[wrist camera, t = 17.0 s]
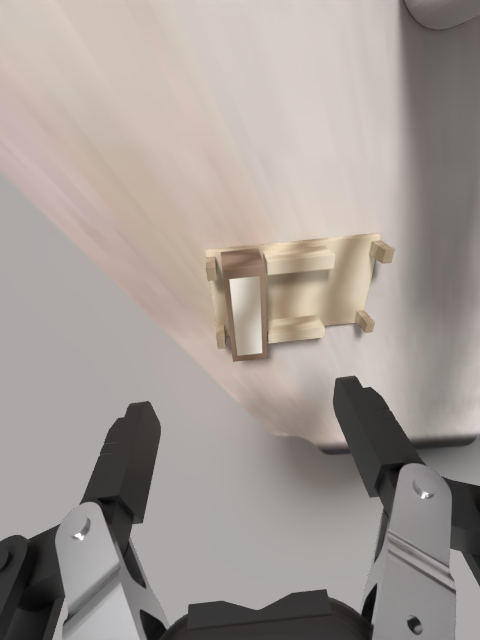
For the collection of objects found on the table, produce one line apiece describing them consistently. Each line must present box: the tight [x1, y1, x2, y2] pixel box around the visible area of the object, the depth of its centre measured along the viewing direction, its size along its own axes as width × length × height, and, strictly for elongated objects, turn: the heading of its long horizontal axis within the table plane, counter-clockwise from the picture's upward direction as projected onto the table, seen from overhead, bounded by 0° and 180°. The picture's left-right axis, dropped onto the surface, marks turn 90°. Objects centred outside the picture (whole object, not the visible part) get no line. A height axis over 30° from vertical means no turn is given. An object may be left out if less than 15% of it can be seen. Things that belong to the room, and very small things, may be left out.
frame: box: [221, 248, 267, 362], centre depth 31 cm, size 4×12×5 cm, turn 4°
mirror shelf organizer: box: [206, 233, 395, 349], centre depth 32 cm, size 20×12×4 cm, turn 94°
